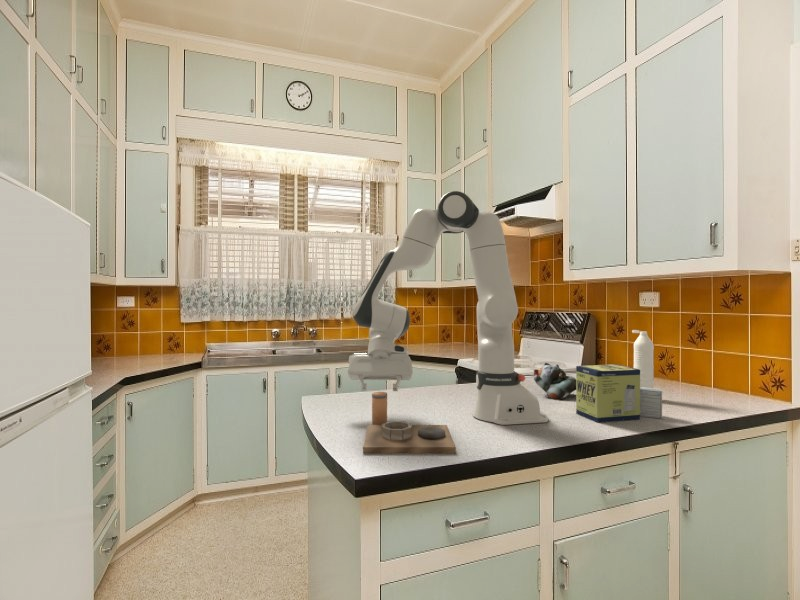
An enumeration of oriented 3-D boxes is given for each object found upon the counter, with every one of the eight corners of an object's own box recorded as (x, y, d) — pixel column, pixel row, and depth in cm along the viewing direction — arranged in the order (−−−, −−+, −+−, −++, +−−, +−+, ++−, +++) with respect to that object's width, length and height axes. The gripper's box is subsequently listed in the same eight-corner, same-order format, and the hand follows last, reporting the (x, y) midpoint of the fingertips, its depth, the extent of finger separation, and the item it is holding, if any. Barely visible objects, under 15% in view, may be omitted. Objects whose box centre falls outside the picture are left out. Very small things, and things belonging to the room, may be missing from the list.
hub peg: (387, 421, 128) (387, 391, 128) (387, 426, 124) (387, 395, 124) (372, 421, 128) (372, 391, 128) (371, 426, 124) (371, 395, 123)
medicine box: (660, 415, 136) (660, 388, 136) (662, 419, 132) (662, 390, 132) (632, 412, 139) (632, 386, 139) (633, 416, 135) (633, 388, 135)
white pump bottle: (657, 400, 156) (658, 331, 156) (641, 401, 155) (641, 331, 155) (641, 395, 164) (641, 329, 164) (625, 395, 164) (625, 330, 163)
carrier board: (446, 430, 120) (446, 415, 120) (455, 453, 102) (455, 436, 102) (367, 430, 120) (368, 415, 120) (363, 453, 102) (363, 436, 102)
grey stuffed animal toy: (559, 401, 154) (539, 366, 157) (539, 407, 164) (522, 373, 168) (587, 386, 160) (568, 352, 163) (567, 392, 170) (549, 360, 174)
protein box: (575, 413, 138) (575, 365, 138) (616, 411, 141) (616, 363, 141) (597, 423, 128) (597, 370, 127) (641, 419, 131) (641, 368, 131)
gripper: (348, 347, 137) (344, 384, 128) (412, 347, 138) (413, 384, 128) (349, 359, 142) (346, 395, 132) (411, 359, 142) (412, 396, 132)
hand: (379, 390), depth 130 cm, fingers open, 8 cm apart
